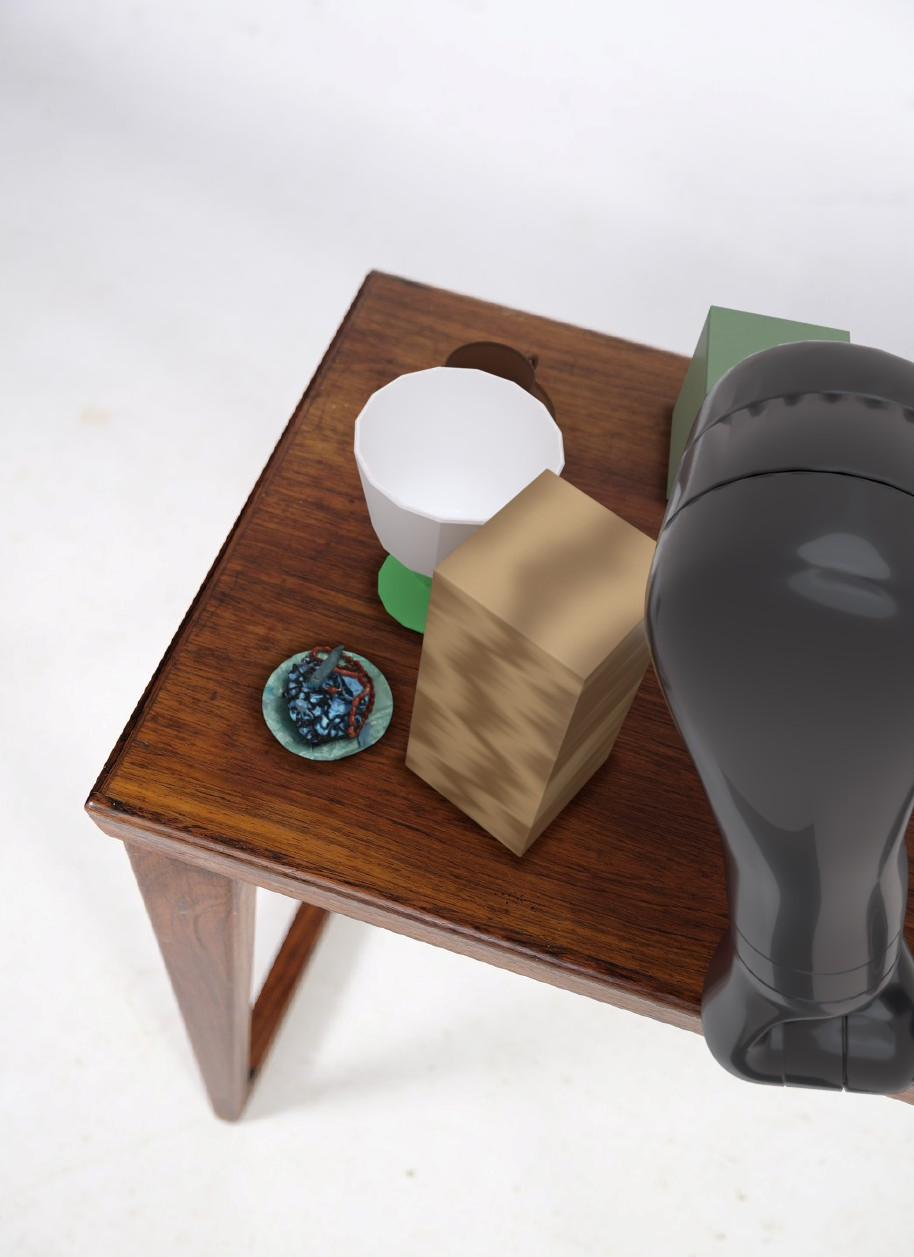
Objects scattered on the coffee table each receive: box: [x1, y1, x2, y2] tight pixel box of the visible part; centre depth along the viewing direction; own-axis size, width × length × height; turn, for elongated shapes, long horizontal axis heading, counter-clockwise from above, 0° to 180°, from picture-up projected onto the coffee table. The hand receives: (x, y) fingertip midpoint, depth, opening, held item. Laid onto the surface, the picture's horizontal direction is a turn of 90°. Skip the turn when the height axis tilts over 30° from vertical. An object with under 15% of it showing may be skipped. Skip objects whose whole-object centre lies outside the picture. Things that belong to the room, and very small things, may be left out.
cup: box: [353, 366, 566, 635], centre depth 83 cm, size 14×14×16 cm
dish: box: [261, 644, 394, 761], centre depth 82 cm, size 8×7×8 cm
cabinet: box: [666, 304, 851, 500], centre depth 95 cm, size 10×11×12 cm
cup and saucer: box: [439, 340, 557, 424], centre depth 97 cm, size 12×12×6 cm
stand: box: [404, 469, 657, 858], centre depth 73 cm, size 10×10×22 cm
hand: (803, 501), depth 77 cm, fingers closed on bin, 6 cm apart
